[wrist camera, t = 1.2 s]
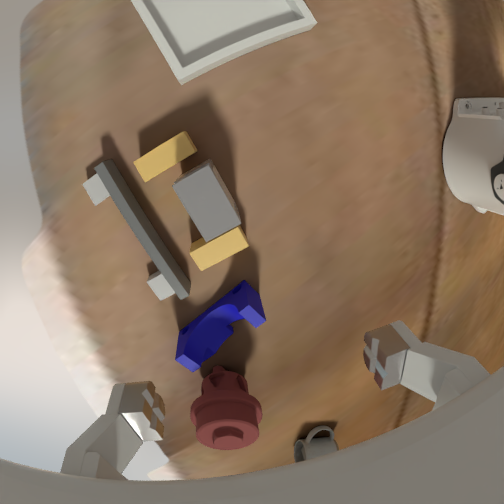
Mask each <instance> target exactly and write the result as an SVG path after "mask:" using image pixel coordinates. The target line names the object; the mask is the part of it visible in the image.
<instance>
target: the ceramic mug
mask: <svg viewBox="0 0 504 504" xmlns="http://www.w3.org/2000/svg"><path fill="white" fill-rule="evenodd" d="M321 430H328V431H330V437H322V438H312V437H313V436H314V435H315V434H316V433H317V432H319V431H321ZM335 451H339V447H338V444H337V442H336V441H335V440H334V433H333V431H332V429H331V428H330V427H328V426H318V427H316V428H314V429H312V430H311V431H310V432H309V434H308V436H307V438H306V439H301V440H298V441H297V442H296V444H295V447H294V459H295V463H297V462H301V461H305V460H309V459H312V458H316V457H319V456H323V455H326V454H329V453H332V452H335Z"/></svg>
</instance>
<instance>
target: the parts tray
mask: <svg viewBox="0 0 504 504" xmlns="http://www.w3.org/2000/svg"><path fill="white" fill-rule="evenodd" d="M131 1H132V3H133V5H134V6H135V8H136V10H137V11H138V13H139V15H140V16H141V18H142V20H143V21H144V23H145V25H146V26H147V28H148V30H149V31H150V33H151V35H152V36H153V38H154V40H155V42H156V43H157V45H158V47H159V48H160V50H161V52H162V54H163V55H164V57H165V59H166V60H167V62H168V64H169V66H170V67H171V69H172V71H173V72H174V74H175V76H176V78H177V79H178V81H179V82H180V84H181V85H183V84H185V83H186V82H188V81H190V80H192V79H194V78H196V77H198V76H200V75H202V74H203V73H205V72H207V71H209V70H211V69H214V68H216V67H218V66H220V65H222V64H224V63H226V62H228V61H230V60H233V59H235V58H237V57H239V56H242V55H244V54H246V53H249V52H251V51H253V50H256V49H258V48H261V47H263V46H266V45H269V44H271V43H274V42H276V41H279V40H282V39H285V38H288V37H290V36H293V35H296V34H299V33H302V32H306V31H309V30H311V29H312V28H313V27H314V26H315V25H316V24H317V22H316V20H315V18H314V17H313V15H312V13H311V12H310V10H309V9H308V7H307V6H306V4H305V3H304V1H303V0H131Z"/></svg>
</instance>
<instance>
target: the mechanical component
mask: <svg viewBox="0 0 504 504" xmlns="http://www.w3.org/2000/svg"><path fill="white" fill-rule="evenodd" d="M190 417H191V421H192V423H193V424H194V425H195V426H196V437H197V439H198V441H199V442H200V443H202V444H203V445H205V446H207V447H210V448H214V449H219V450H234V449H239V448H243V447H246V446H248V445H250V444H252V443H254V442H255V441H256V440H257V439H258V437H259V429H258V424H259V423H260V421H261V419H262V409H261V405H260V403H259V401H258V400H257V399H256V398H254V397H253V396H251V395H249V394H248V387H247V381H246V380H245V378H244V377H243V376H241V375H240V374H238V373H235V372H231V371H226V370H225V369H224V368H223V367H222V366H215V367H213V373H212V374H210V375H208V376H206V377H205V378H204V380H203V382H202V396H200V397H199V398H197V399H196V400H195V401H194V402H193V404H192V406H191V413H190Z"/></svg>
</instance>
